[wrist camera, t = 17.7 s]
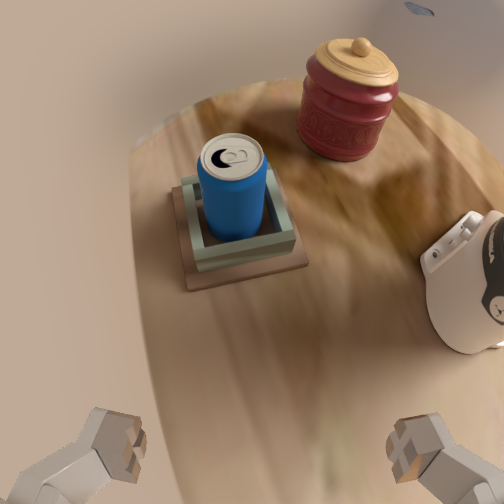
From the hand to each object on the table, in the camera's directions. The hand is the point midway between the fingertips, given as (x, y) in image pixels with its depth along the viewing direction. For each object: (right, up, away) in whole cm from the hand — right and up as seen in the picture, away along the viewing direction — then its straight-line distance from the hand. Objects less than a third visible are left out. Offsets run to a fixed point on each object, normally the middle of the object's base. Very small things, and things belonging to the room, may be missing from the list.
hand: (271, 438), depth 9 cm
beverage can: (-3, +9, +30) cm, 32 cm away
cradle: (-3, +9, +31) cm, 32 cm away
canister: (+13, +24, +39) cm, 47 cm away
